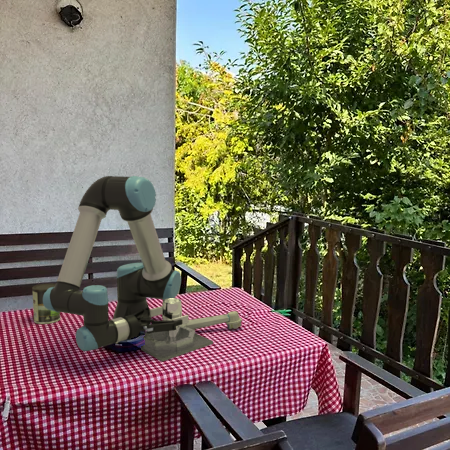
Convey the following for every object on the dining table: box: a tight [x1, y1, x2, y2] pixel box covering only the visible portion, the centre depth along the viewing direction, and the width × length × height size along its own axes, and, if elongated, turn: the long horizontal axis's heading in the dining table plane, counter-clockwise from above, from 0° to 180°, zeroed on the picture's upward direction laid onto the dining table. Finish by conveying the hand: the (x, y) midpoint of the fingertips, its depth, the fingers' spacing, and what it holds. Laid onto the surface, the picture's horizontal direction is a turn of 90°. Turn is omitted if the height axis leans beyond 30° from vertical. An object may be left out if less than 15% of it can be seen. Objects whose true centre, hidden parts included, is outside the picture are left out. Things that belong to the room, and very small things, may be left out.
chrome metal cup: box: [161, 297, 183, 342], centre depth 160 cm, size 7×7×15 cm
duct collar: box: [140, 326, 214, 362], centre depth 163 cm, size 22×22×3 cm
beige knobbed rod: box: [180, 310, 243, 331], centre depth 174 cm, size 5×7×25 cm
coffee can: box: [31, 282, 61, 325], centre depth 185 cm, size 10×10×14 cm
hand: (176, 314), depth 164 cm, fingers open, 13 cm apart
